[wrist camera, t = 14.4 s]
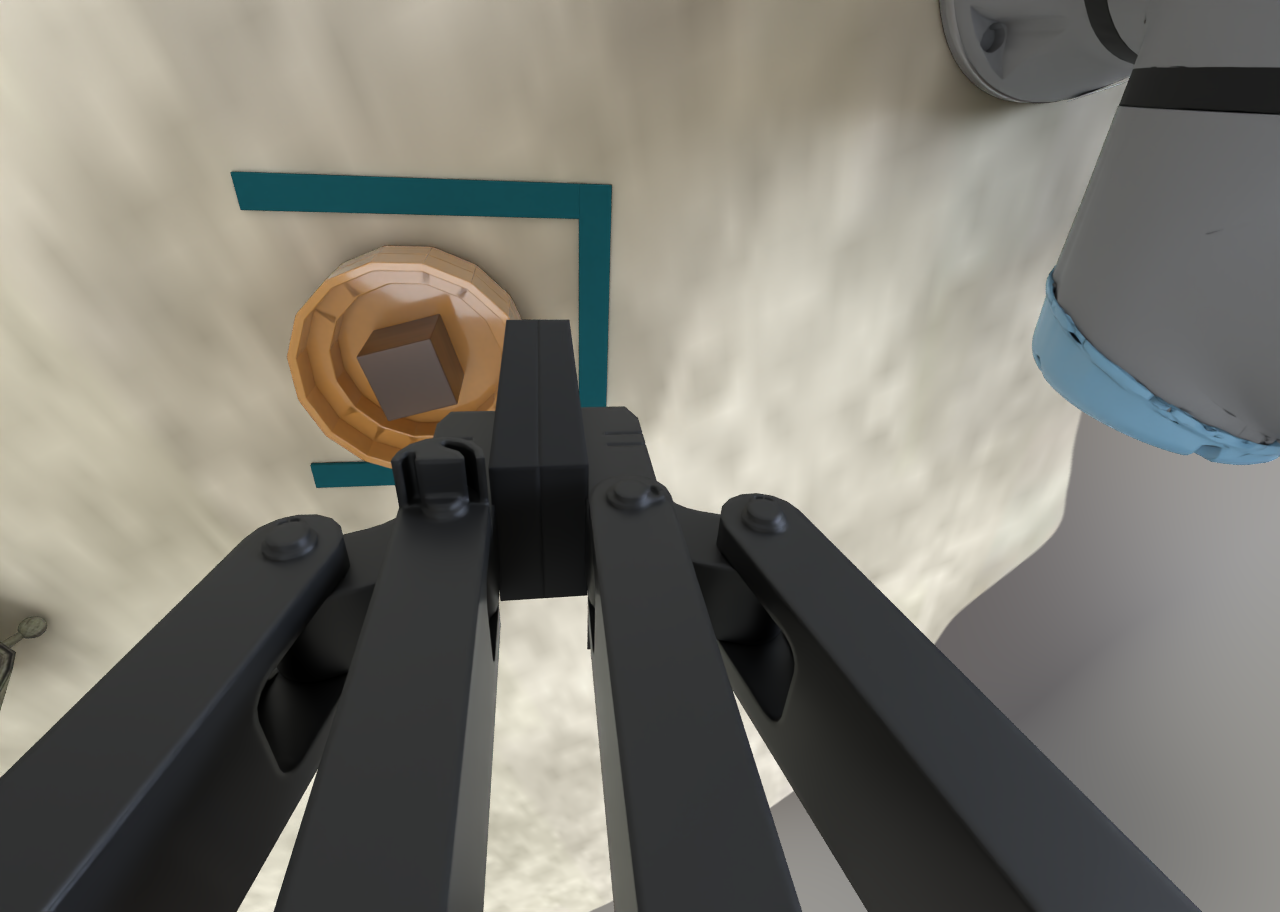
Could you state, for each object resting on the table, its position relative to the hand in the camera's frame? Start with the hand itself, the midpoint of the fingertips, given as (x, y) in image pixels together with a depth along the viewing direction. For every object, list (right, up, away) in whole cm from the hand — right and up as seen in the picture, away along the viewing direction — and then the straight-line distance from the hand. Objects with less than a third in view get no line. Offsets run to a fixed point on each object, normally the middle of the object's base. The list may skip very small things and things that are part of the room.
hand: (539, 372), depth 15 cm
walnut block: (-12, +5, +26) cm, 29 cm away
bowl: (-12, +5, +26) cm, 29 cm away
